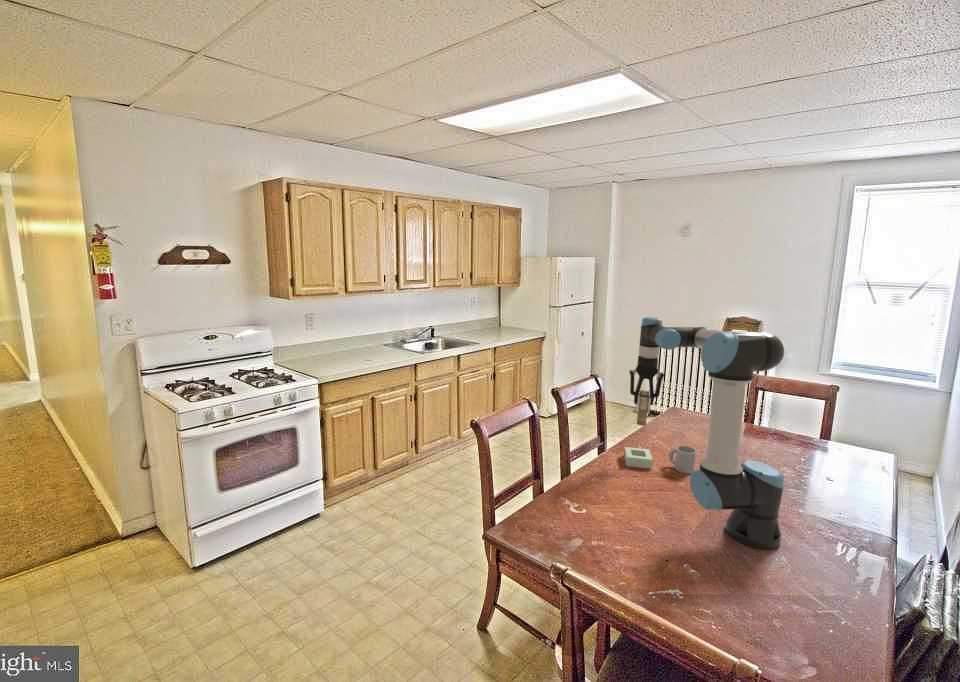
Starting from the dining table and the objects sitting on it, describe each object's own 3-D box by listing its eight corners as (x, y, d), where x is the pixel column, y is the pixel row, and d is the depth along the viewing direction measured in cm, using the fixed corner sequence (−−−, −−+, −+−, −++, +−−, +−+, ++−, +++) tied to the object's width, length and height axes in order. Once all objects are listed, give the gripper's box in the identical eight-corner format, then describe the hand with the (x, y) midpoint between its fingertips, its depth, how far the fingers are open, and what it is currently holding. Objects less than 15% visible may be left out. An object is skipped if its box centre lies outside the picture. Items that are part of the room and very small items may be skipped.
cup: (691, 476, 187) (693, 455, 185) (665, 468, 193) (667, 447, 191) (695, 469, 193) (698, 449, 191) (670, 462, 199) (672, 442, 197)
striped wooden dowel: (646, 426, 192) (650, 393, 189) (637, 425, 193) (640, 392, 190) (645, 422, 196) (648, 390, 193) (636, 421, 197) (639, 389, 194)
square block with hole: (651, 468, 192) (652, 459, 191) (626, 466, 194) (627, 456, 193) (648, 458, 202) (649, 449, 201) (624, 455, 204) (624, 446, 203)
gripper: (668, 355, 190) (662, 410, 195) (625, 352, 194) (620, 406, 199) (672, 359, 183) (665, 417, 188) (627, 356, 187) (622, 413, 191)
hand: (642, 411), depth 193 cm, fingers closed on striped wooden dowel, 3 cm apart
